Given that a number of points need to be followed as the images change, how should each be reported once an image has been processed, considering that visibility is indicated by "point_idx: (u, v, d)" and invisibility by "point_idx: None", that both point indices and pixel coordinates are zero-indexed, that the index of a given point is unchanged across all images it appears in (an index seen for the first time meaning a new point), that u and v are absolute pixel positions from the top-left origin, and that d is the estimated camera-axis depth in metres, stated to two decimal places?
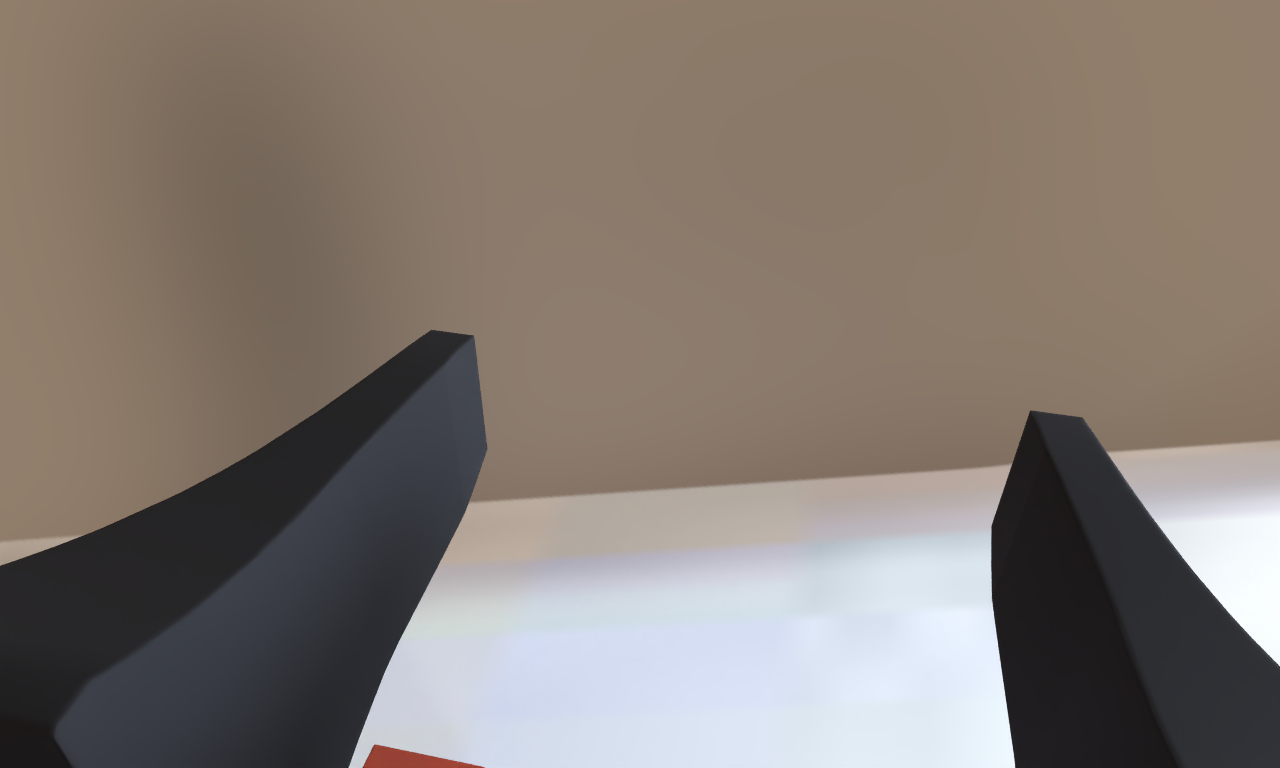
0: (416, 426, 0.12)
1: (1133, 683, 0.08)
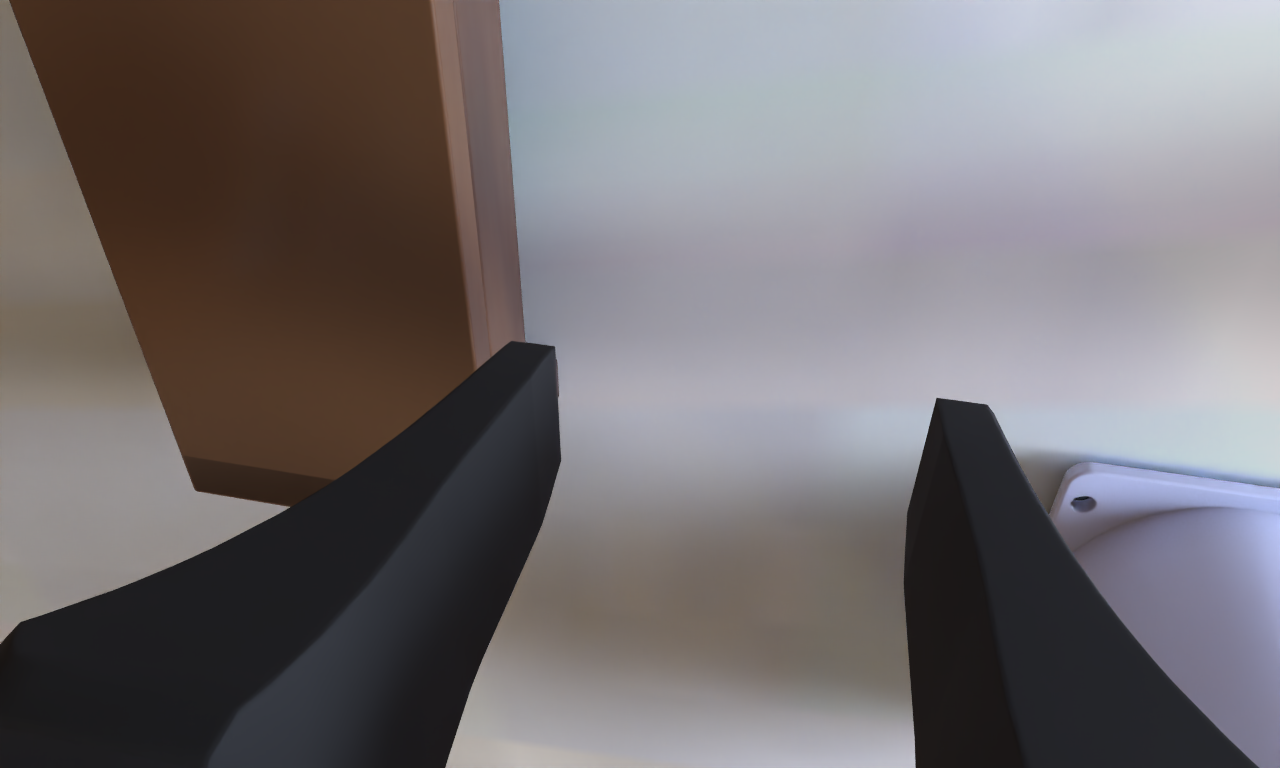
0: (505, 440, 0.11)
1: (993, 659, 0.08)
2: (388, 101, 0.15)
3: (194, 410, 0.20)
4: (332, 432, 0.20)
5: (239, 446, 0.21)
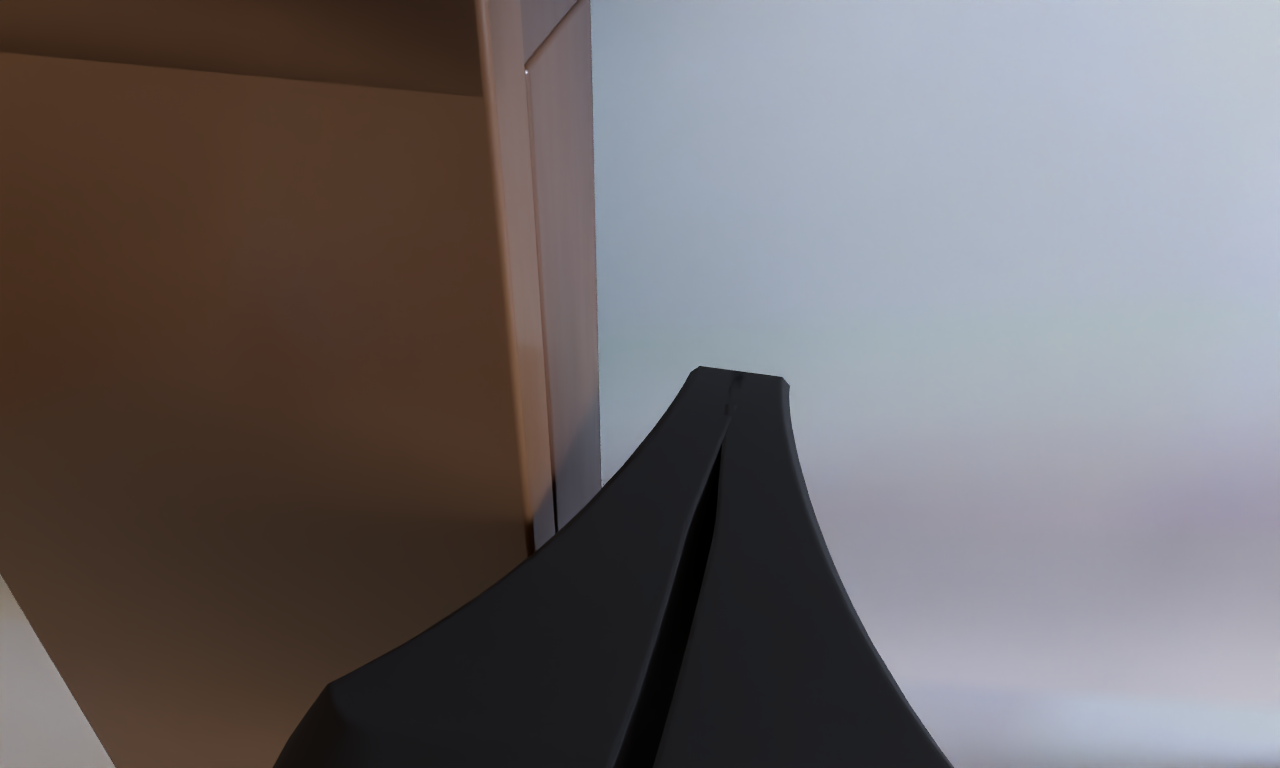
0: (718, 472, 0.11)
1: (698, 607, 0.09)
2: (426, 435, 0.09)
3: (143, 748, 0.14)
4: None
5: None
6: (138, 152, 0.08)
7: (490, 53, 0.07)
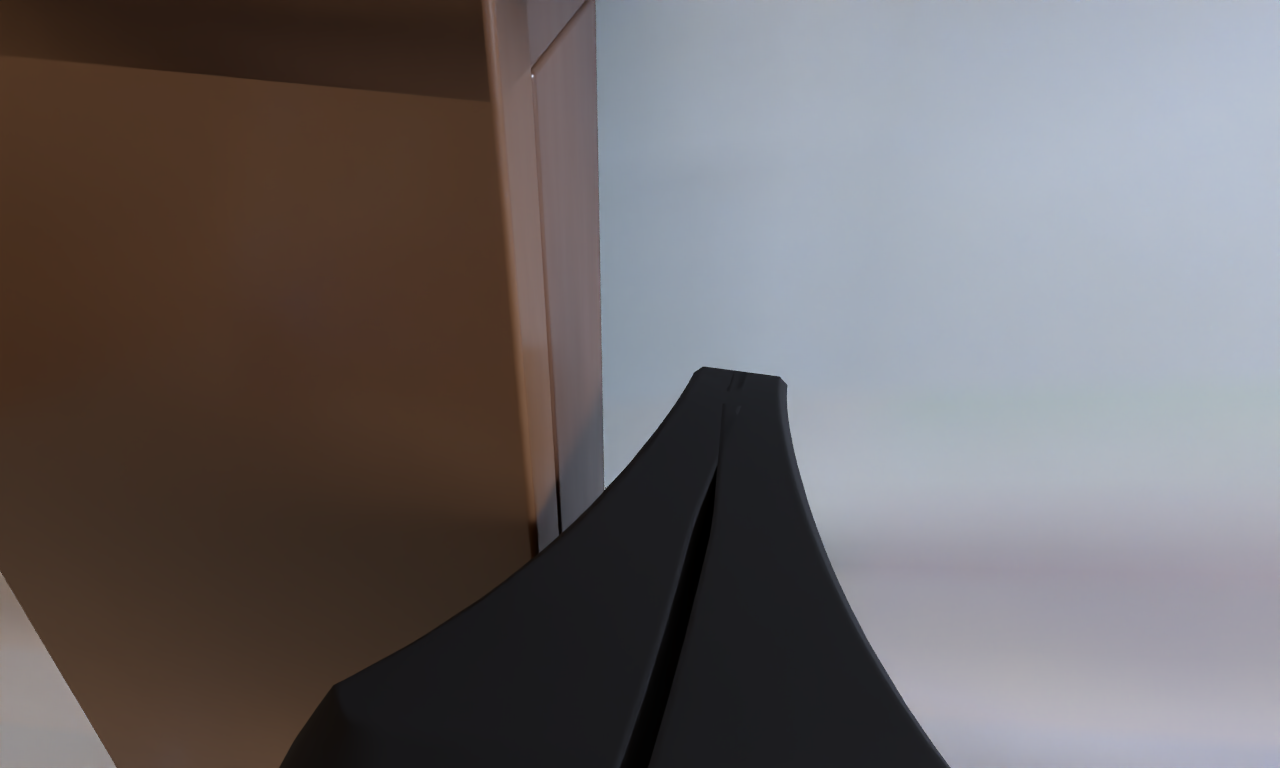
0: None
1: None
2: (432, 438, 0.09)
3: (144, 750, 0.14)
4: None
5: None
6: (144, 156, 0.08)
7: (497, 56, 0.07)
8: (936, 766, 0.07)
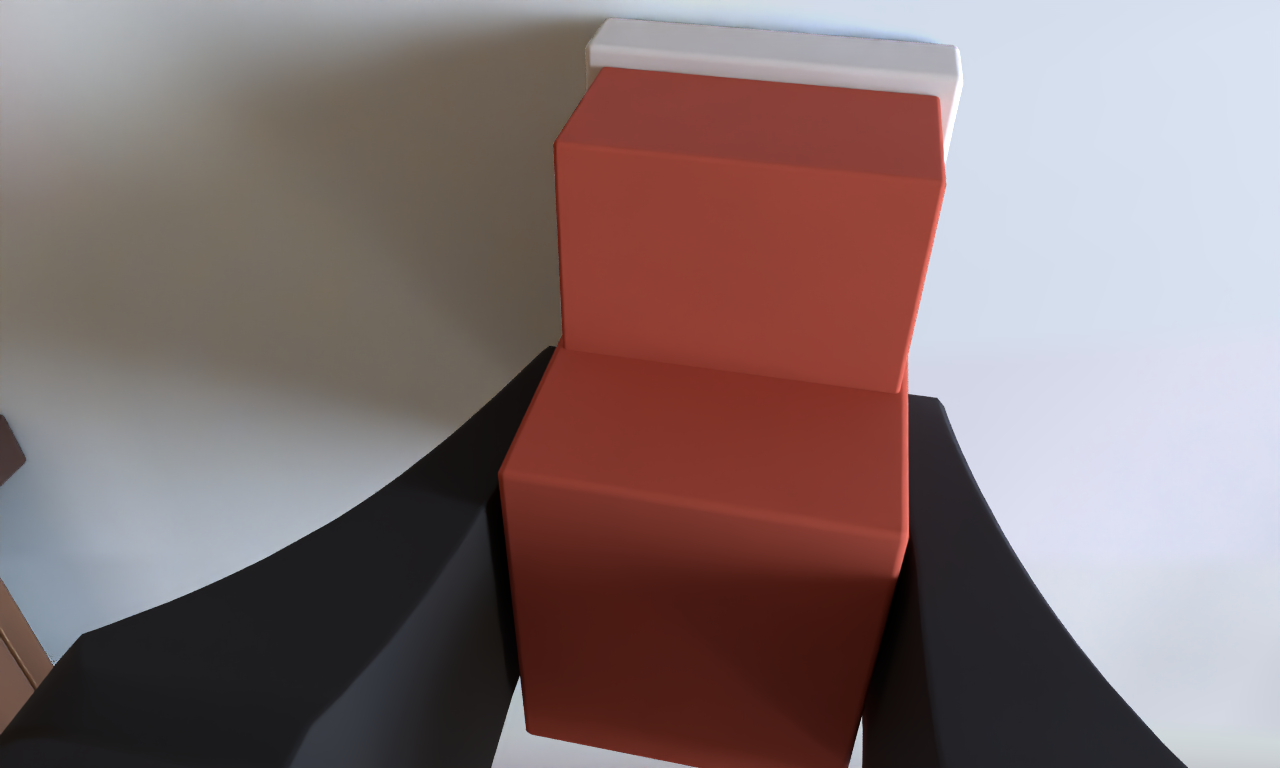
0: None
1: (920, 646, 0.08)
2: None
3: None
4: None
5: None
6: None
7: None
8: None
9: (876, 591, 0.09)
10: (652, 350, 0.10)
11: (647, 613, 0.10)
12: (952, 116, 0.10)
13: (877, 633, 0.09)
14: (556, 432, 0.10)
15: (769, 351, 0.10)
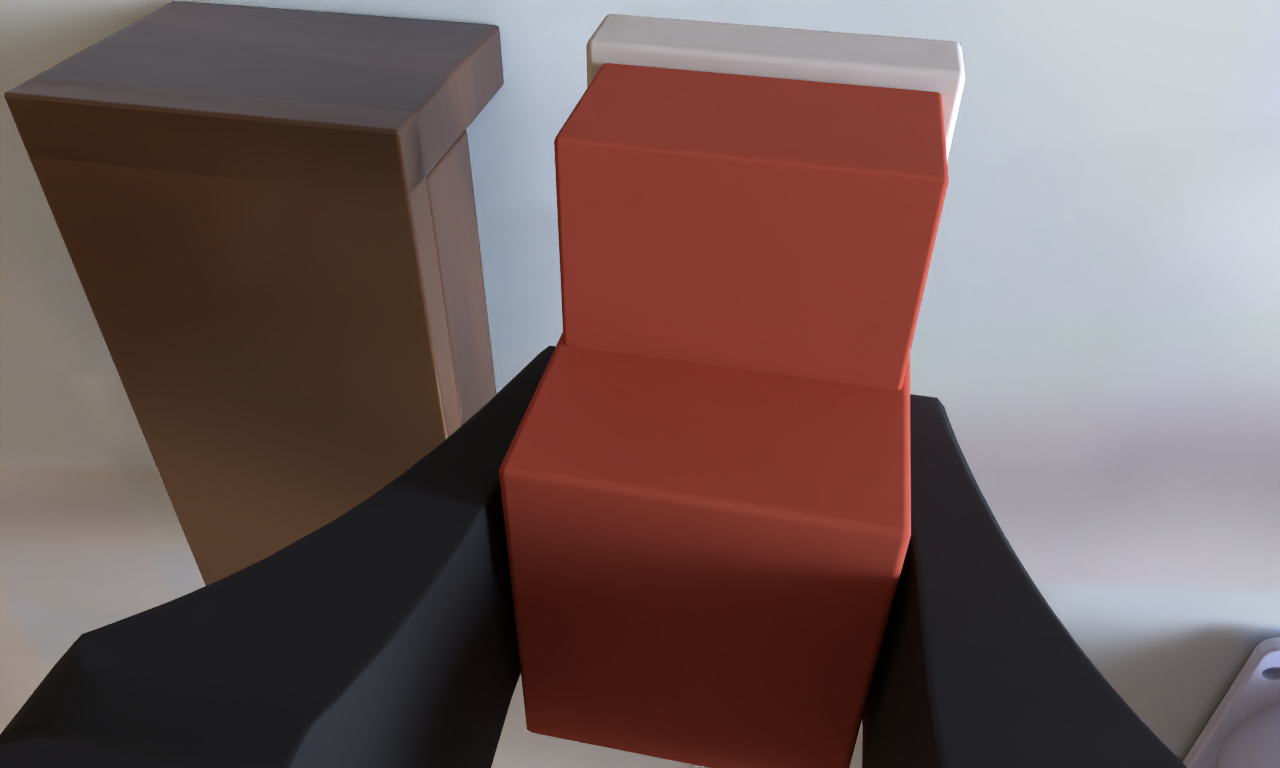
0: None
1: (920, 646, 0.08)
2: (386, 353, 0.18)
3: (223, 565, 0.23)
4: None
5: None
6: (249, 217, 0.17)
7: (407, 178, 0.16)
8: None
9: (878, 588, 0.09)
10: (654, 347, 0.10)
11: (648, 609, 0.10)
12: (954, 112, 0.10)
13: (879, 630, 0.09)
14: (557, 429, 0.10)
15: (770, 348, 0.10)
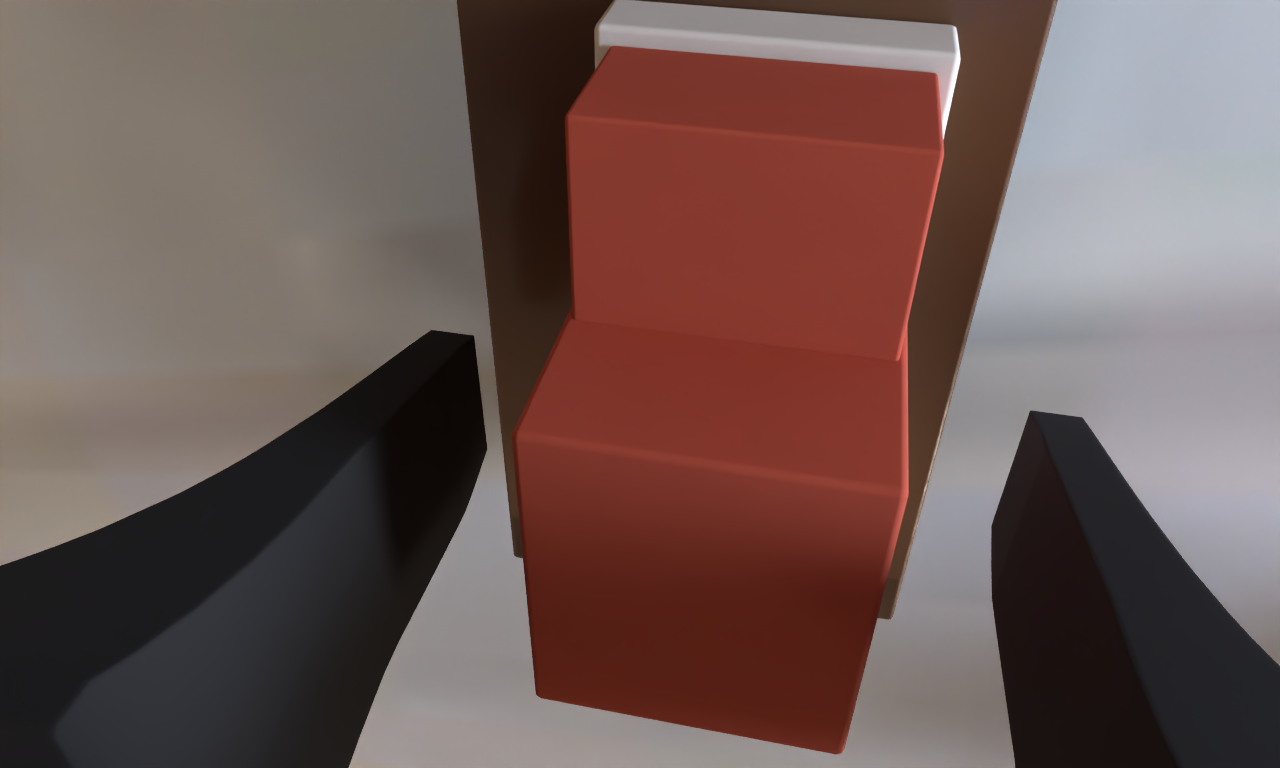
0: (416, 426, 0.12)
1: (1133, 683, 0.08)
2: None
3: None
4: None
5: None
6: None
7: None
8: None
9: (877, 548, 0.09)
10: (660, 319, 0.11)
11: (655, 573, 0.10)
12: (950, 93, 0.11)
13: (878, 590, 0.10)
14: (567, 396, 0.10)
15: (773, 320, 0.10)
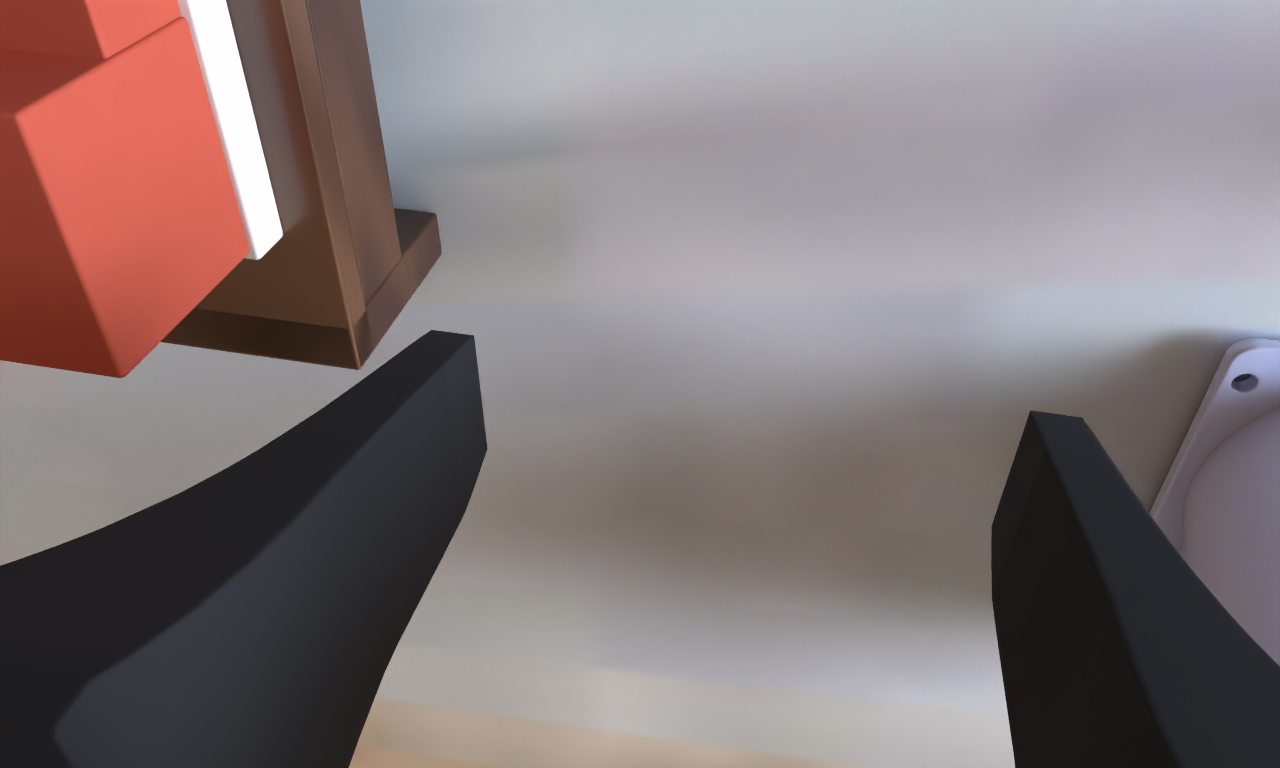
0: (416, 427, 0.12)
1: (1133, 683, 0.08)
2: None
3: None
4: None
5: None
6: None
7: None
8: None
9: (27, 167, 0.13)
10: None
11: None
12: None
13: (52, 209, 0.14)
14: None
15: (14, 29, 0.14)
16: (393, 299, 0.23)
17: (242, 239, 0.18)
